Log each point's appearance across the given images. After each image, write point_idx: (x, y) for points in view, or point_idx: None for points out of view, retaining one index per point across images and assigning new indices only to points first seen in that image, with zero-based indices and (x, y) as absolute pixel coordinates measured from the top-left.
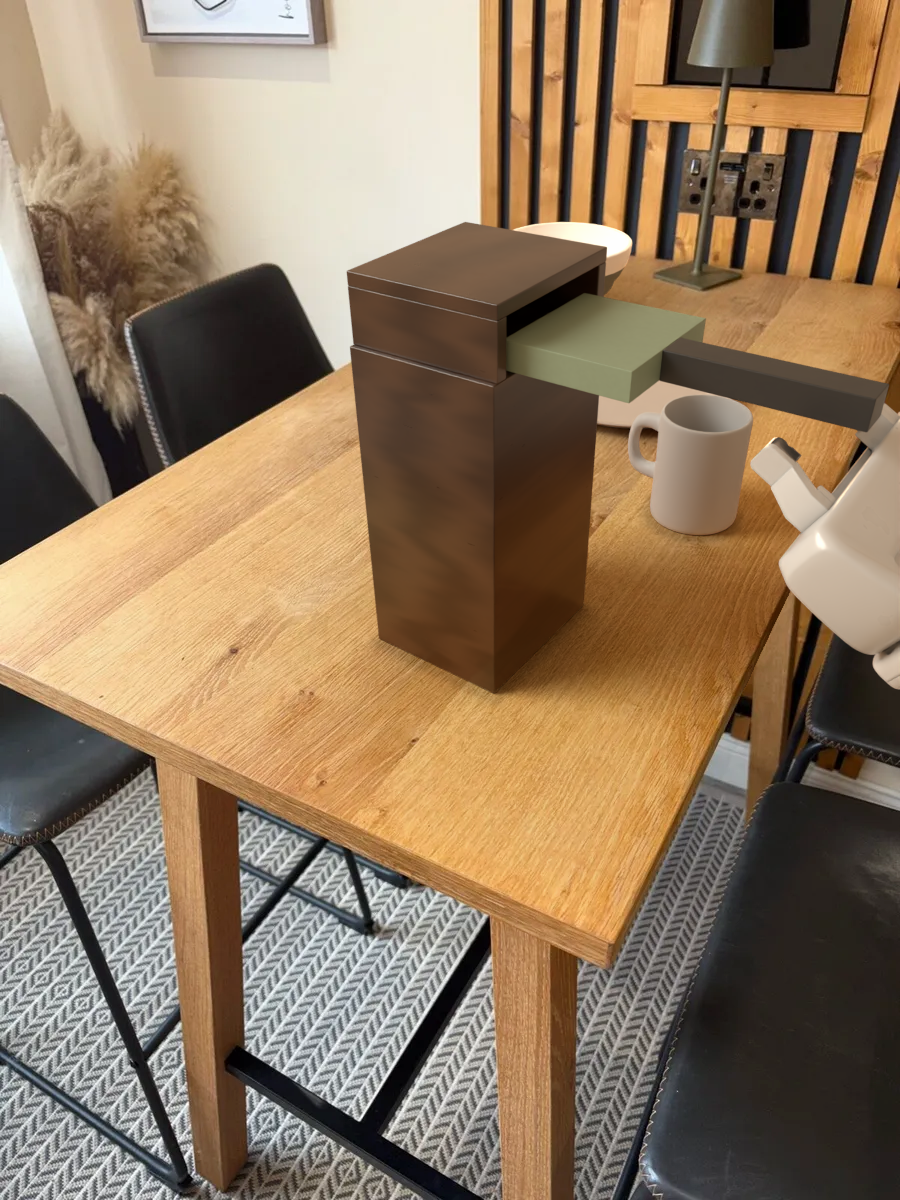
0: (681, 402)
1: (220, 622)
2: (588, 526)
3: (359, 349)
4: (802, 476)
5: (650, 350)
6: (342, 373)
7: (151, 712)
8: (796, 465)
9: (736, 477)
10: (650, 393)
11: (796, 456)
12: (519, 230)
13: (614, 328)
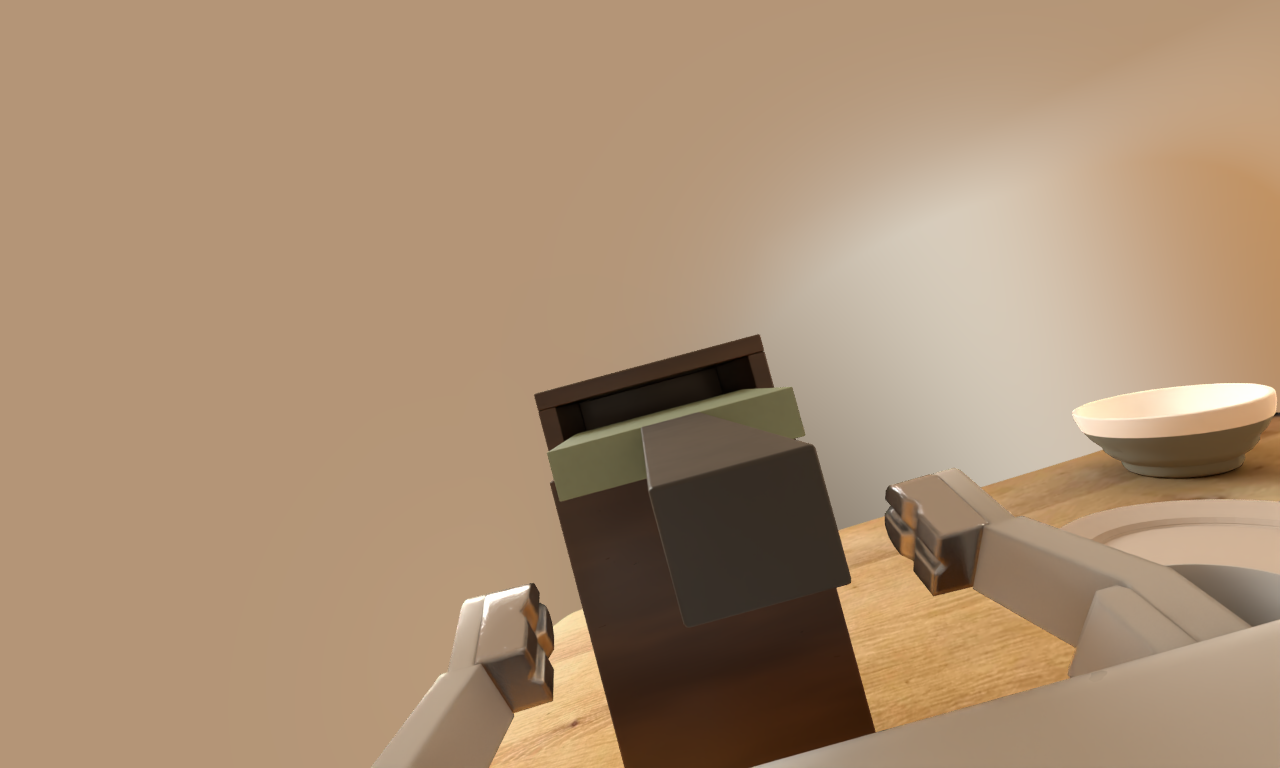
0: (1181, 573)
1: (597, 693)
2: (869, 725)
3: None
4: (422, 714)
5: (628, 429)
6: (884, 516)
7: None
8: (463, 673)
9: None
10: (1278, 572)
11: (503, 647)
12: (1112, 399)
13: (670, 413)
